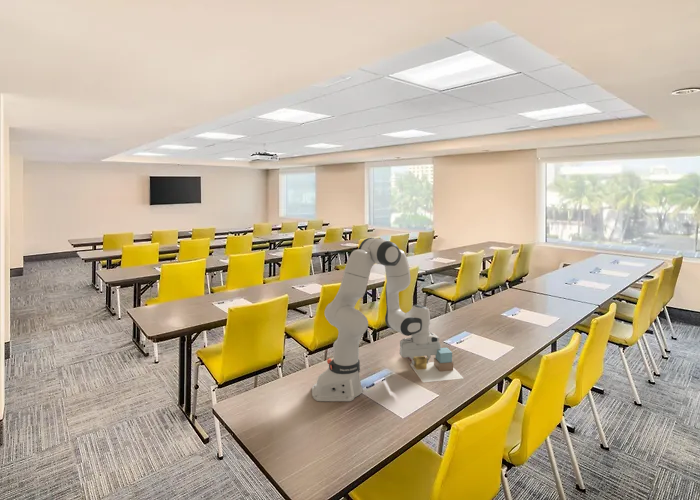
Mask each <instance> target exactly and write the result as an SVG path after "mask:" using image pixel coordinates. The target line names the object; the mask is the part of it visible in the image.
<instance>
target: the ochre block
mask: <svg viewBox="0 0 700 500" xmlns="http://www.w3.org/2000/svg"><path fill="white" fill-rule="evenodd" d="M426 358H427V357H426V356H417V357H414V360H415V361H416V365H414V367H415V368H416V369H417V370H419V369H427V359H426Z"/></svg>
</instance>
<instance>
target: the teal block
mask: <svg viewBox="0 0 700 500" xmlns="http://www.w3.org/2000/svg"><path fill="white" fill-rule="evenodd" d="M434 356H435V357H434V358H436V359H437V360H438V361H439V362H440V363H448V362H453V352H452V351H451V350H450V349H449V348H448V347H441V350H437V355H434Z"/></svg>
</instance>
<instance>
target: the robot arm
mask: <svg viewBox="0 0 700 500" xmlns="http://www.w3.org/2000/svg"><path fill="white" fill-rule="evenodd" d="M375 264H377V265H383V266H384V269H385V277H386V278H385V279H386V283H385V304H386V310H385V311H386V313H385V318H384V321H385V324H386V326H387V327H388V328H389V329H392V330H394V331H396V332H397V333H400V334H402V335H403V336H406V337H407V336H410V337H407V338H405V337H404V338H402V339H401V340H400V341H399V355H400V356H401V357H402V358H404V359H405V358H406V359H407V358H408V357H410V359H411V360H412V361H411V364H412V365H416V361H415V360H413V359H414V357H417V356H425V358H426V359H427V364H428V362H429V360H430V359H431V356H436V355H437V350H441V348H442V345H441V342H440V337H439V336H438V335H437V334H436V333H434V332H430V324H431V315H430V309H429V308H428V307H427V306H426V305H422V304H417V303H416V304H414V305H413V306H412V307H411V309H410V310H409V311H407V312H404V311H403V310H402V309H401V307H400V296H399V293H400V292H403V291H405V290H406V289H407V288H408V287H409V286H410V284H411V280H412V279H411V271H410V266H409V260H408V258H407V255H406V252H405V251H403V249H400V248H399V246H398V245H397V244H396V243H394V242H393V241H392V240H391V241H390V240H386V239H382V238H375V237H368V238H365V239H364V240H363V241H362V242H361V243H360V244H359V246H358V248H357V249H354V250H353V251H351V253H350V255H349V257H348V259H347V262H346V265H345V268H344V271H343V275H342V276H343V277H342V278H341V283H340V286H339V289H338V291H337V293H336V295H335V296H334V299H332V301H331V302H330V303H329V302H328V304H327V305H326V306H325V309H324V316H325V319H326V321H328V323H329V324H330V325H331V326H333V327H335V328H336V329H337V331H338V336H337V339H336V340H335V341H334V343H333V345H332V348H333V349H332V351H333V352H332V353H333V355H332V356H333V359H332V358H328V359H326V362H327V364H328V368H327V369H326V370H325V371H323V372H322V373H320V374H319V375H318V378H317V380H316V383H314V384H313V385H312V388H311V395H312V398H313V399H314V400H315V401H317V402H352V401H353V400H354V399H355V398H356V397H359V396H360V395H361V394H362V393H363V391H364V390H363V386H362V383H361V378H360V370H361V363H360V359H359V350H360V349H359V346H360V344H359V343H360V340H361V337H362V336H363V335H364V334H365V333H366V332H367V329H368V327H369V320H368V317H366V316H365V314H364V313H363V312H362V311H360V310H359V309H356V308H355V306H356V305H357V304H358V301H359V300H360V299H361V298H363V297H364V296H365V294H366V291H367V286H368V283H369V279H370V274H371V269H372V267H373V266H374V265H375ZM410 359H409V360H410Z"/></svg>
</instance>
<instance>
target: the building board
mask: <svg viewBox="0 0 700 500" xmlns="http://www.w3.org/2000/svg"><path fill="white" fill-rule="evenodd" d="M409 366H410V367H411V368H412V370H413V371H414V372H415V373H416V375H417V377H418V378H419V379H420V380H421V382H422V383H423V384H424V383H431V382H442V381H451V380H461V379H464V377H463V375H461V373H460V372H459V371H458V370H457V369H456V368H454V362H453V361H452V362H448V363H440V362H439V361H438V360H437V359H436V358H435V357H433V361H431V362H430V361H428V364H427V369H419V370H417V369H416V368H415V367H414V365H412V363H410V364H409Z"/></svg>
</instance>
